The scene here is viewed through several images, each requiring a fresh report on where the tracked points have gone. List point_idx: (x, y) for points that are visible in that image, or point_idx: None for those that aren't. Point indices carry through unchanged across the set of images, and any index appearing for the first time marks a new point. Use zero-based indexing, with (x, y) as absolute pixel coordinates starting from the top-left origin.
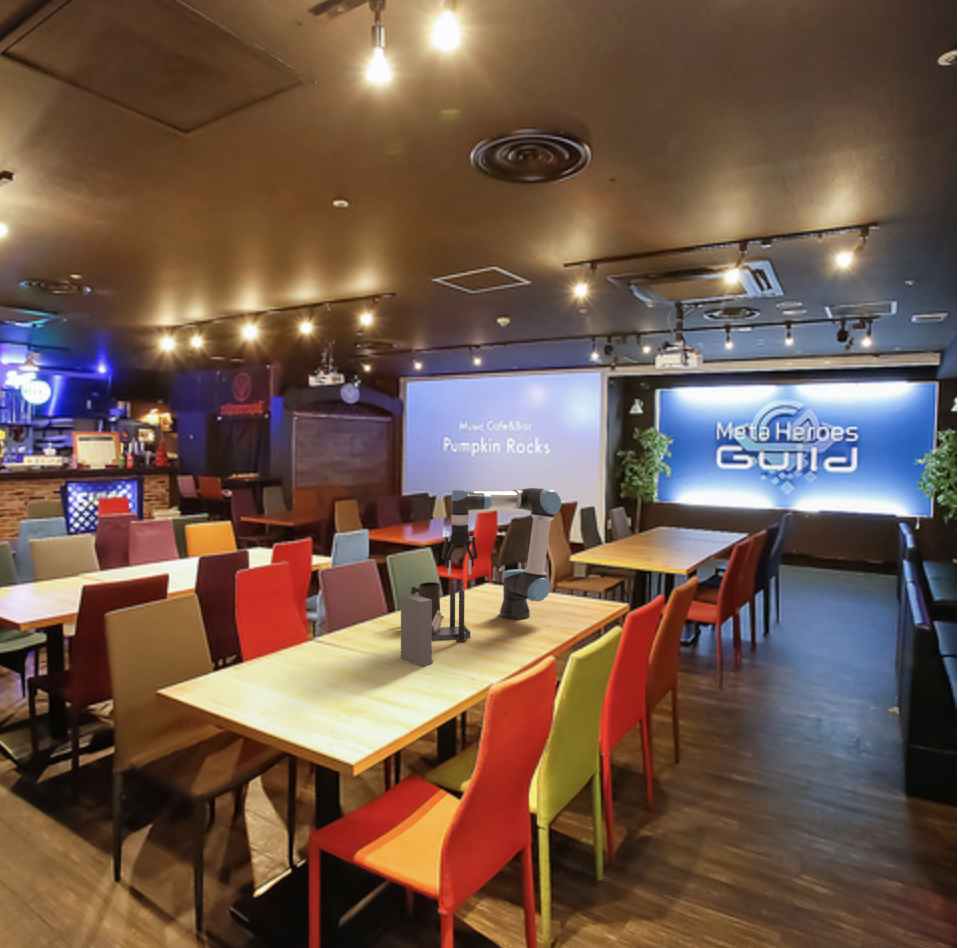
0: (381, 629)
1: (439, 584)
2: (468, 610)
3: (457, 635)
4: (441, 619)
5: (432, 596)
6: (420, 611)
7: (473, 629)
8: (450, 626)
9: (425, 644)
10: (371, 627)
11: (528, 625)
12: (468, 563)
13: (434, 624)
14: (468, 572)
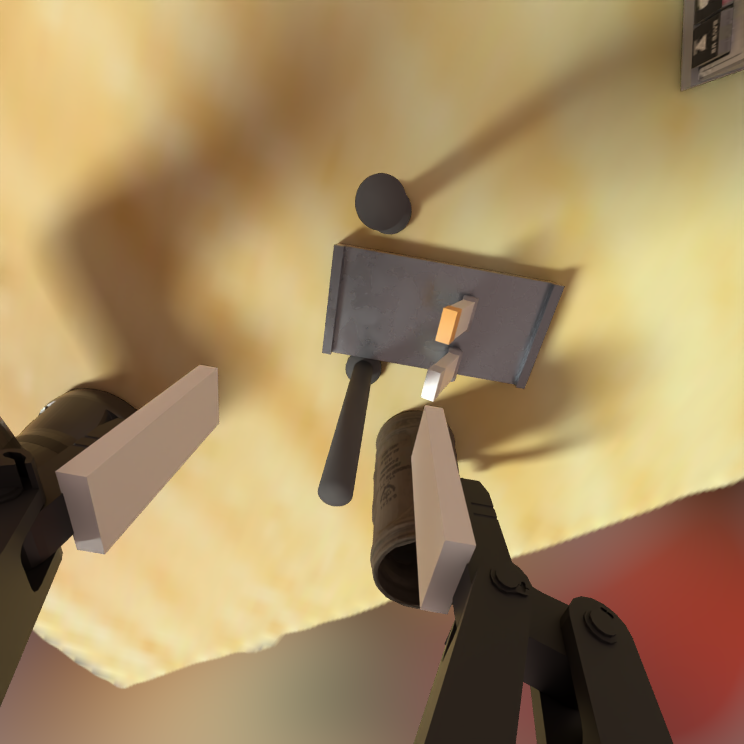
0: (582, 460)
1: (378, 558)
2: (239, 530)
3: (390, 253)
4: (453, 306)
5: None
6: None
7: (289, 342)
8: (371, 369)
9: None
10: (598, 489)
11: (75, 309)
12: (148, 494)
13: (451, 356)
14: (211, 422)
